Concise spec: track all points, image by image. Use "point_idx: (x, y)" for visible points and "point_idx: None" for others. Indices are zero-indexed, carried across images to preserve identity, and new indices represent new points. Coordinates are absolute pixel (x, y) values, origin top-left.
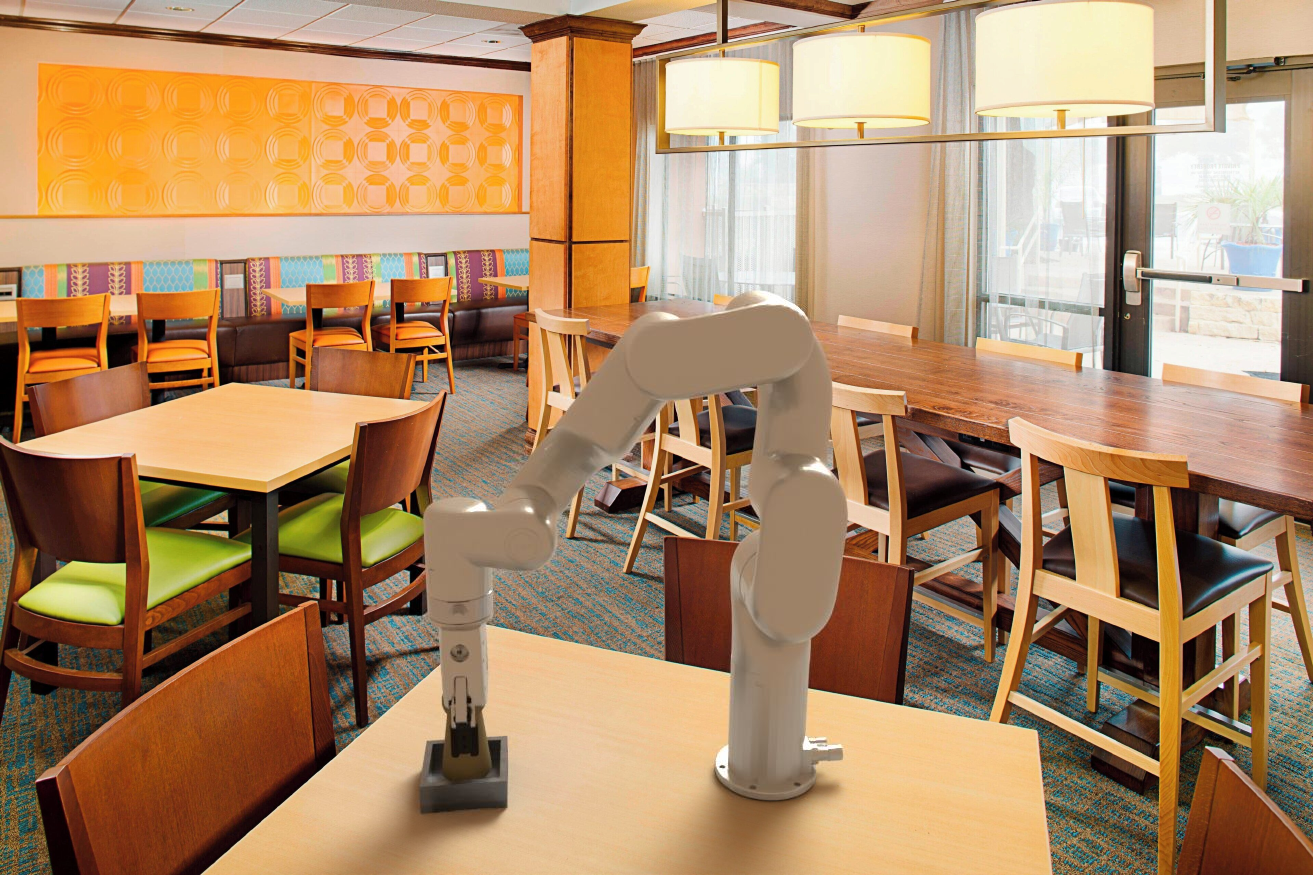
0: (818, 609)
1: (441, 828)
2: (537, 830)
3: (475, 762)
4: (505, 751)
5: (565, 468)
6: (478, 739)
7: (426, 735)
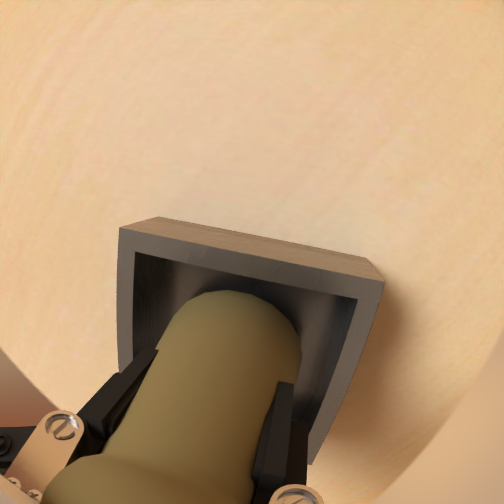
0: None
1: (376, 394)
2: (467, 209)
3: (292, 374)
4: (207, 251)
5: None
6: (285, 421)
7: (61, 352)
